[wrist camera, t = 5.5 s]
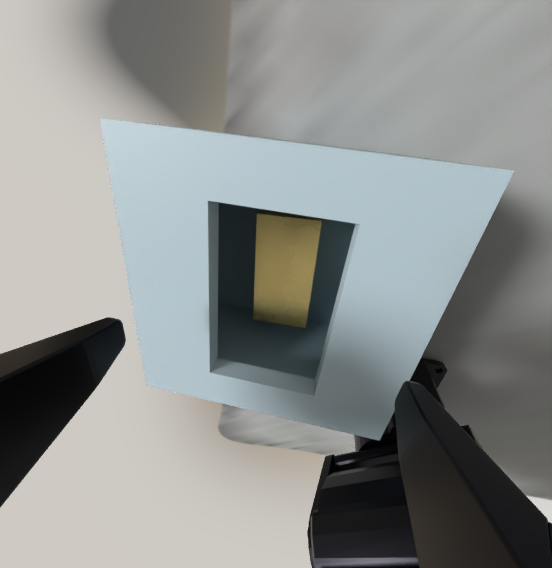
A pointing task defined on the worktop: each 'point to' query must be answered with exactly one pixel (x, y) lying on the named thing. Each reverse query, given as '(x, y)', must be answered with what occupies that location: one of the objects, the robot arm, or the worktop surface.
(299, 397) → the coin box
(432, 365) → the robot arm
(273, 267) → the tall tan wooden block
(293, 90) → the worktop surface
